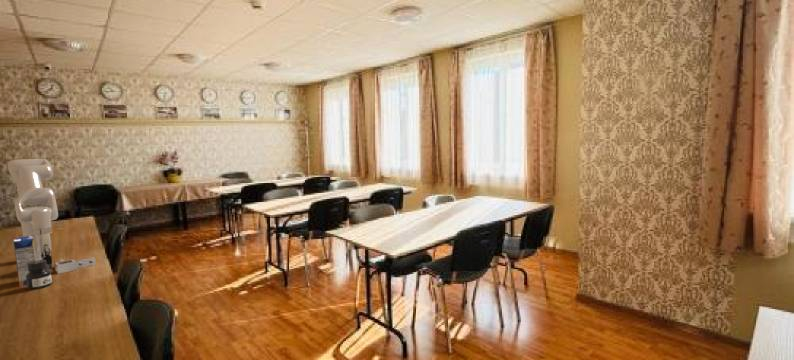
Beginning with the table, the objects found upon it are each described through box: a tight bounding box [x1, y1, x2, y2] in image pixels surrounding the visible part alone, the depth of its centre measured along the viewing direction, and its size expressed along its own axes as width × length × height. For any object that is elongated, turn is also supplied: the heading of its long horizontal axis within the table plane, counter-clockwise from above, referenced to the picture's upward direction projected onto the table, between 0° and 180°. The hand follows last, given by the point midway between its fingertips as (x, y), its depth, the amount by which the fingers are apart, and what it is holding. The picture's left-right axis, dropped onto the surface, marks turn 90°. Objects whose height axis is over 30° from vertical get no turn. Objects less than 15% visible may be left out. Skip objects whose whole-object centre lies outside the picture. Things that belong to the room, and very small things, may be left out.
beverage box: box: [13, 235, 36, 287], centre depth 196 cm, size 7×11×22 cm, turn 44°
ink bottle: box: [26, 260, 53, 290], centre depth 189 cm, size 10×9×12 cm
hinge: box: [54, 256, 96, 275], centre depth 219 cm, size 17×17×4 cm
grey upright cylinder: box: [41, 256, 54, 270], centre depth 217 cm, size 4×4×7 cm
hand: (46, 262), depth 217 cm, fingers open, 8 cm apart
